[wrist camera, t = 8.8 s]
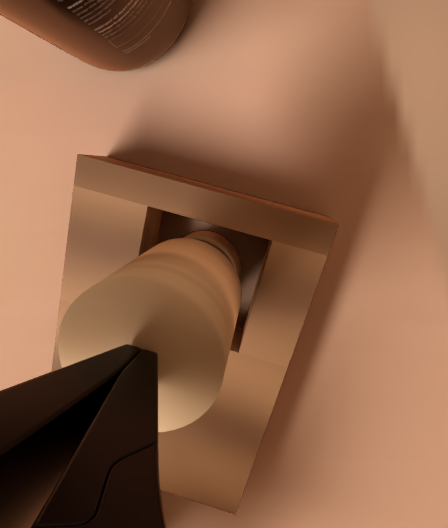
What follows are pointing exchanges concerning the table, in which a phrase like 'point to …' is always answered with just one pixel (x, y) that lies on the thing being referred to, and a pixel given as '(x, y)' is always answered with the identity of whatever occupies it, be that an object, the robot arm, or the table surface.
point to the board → (244, 339)
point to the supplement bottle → (103, 28)
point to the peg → (165, 319)
